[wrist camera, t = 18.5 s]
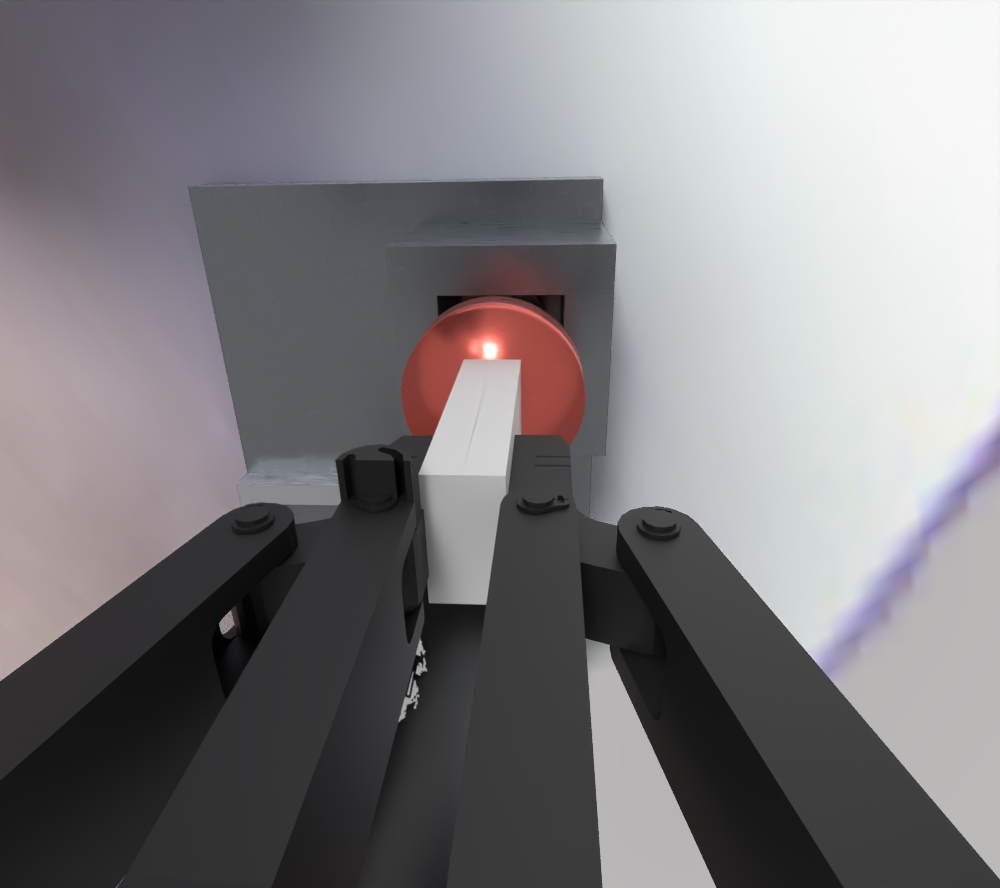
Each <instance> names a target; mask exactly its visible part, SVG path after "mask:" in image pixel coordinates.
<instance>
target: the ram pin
mask: <svg viewBox="0 0 1000 888" xmlns="http://www.w3.org/2000/svg"><path fill="white" fill-rule="evenodd" d="M464 359H506V360H521V435H560V436H561V437H562V438H563V439H564V440H565V441H566V442H567V443H568V444H569V445H571V444H572V442H573V440H574V438H575V437H576V435H577V433H578V431H579V428H580V426H581V423H582V419H583V415H584V410H585V386H584V379H583V372H582V366H581V361H580V358H579V354H578V351H577V349H576V347H575V345H574V343H573V341H572V339H571V337H570V336H569V334H568V333H567V331H566V330H565V329H564V328H563V327H562V326H561V324H560V323H559V322H558V321H557V320H556V319H554V318H553V317H552V316H551V315H550V314H548V313H547V312H546V311H545V308H544V306H543V304H542V303H541V301H540V300H539V299H538V298H537V297H536V296H535V295H482V296H481V297H479V298H474V299H470V300H467V301H464V302H462V303H459V304H457V305H455V306H453V307H451V308H450V309H448V310H447V311H445V312H444V313H442V314H441V315H440V316H439V317H438V318H437V319H435V320H434V321H433V322H432V323H431V325H430V326H429V327H428V328H427V330H426V331H425V332H424V334H423V335H422V337H421V339H420V340H419V342H418V343H417V345H416V346H415V348H414V350H413V351H412V353H411V355H410V356H409V359H408V361H407V364H406V366H405V369H404V373H403V377H402V384H401V402H402V409H403V413H404V417H405V420H406V423H407V425H408V427H409V429H410V432H411V433H412V435H413V436H434V434H435V431H436V429H437V426H438V424H439V421H440V419H441V416H442V414H443V411H444V408H445V406H446V403H447V401H448V398H449V396H450V393H451V391H452V388H453V386H454V383H455V381H456V378H457V376H458V373H459V370H460V368H461V365H462V363H463V360H464Z"/></svg>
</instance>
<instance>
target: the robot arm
mask: <svg viewBox="0 0 1000 888" xmlns="http://www.w3.org/2000/svg"><path fill="white" fill-rule="evenodd" d="M335 462H336V469H337V476H338V483H339V490H340V498H341V502H340V504H339V506H338V508H337V509H336V511H335V513H334V514H333V516H332V518H328V519H323V520H319V521H313V522H306V523H300V524H295V520H294V514H293V512H292V511H291V510H290V509H289V508H288V507H287V506H284V505H281V504H278V503H265V502H259V503H256V504H255V503H252V504H247V505H245V506H243V507H240V508H237V509H234V510H232V511H230V512H228V513H227V514H225V515H223V516H221V517H220V518H219V519H217V520H216V521H215V522H213V523H212V524H211V525H209V526H208V527H207V528H205V529H204V530H203V531H201V532H200V533H199V534H197V535H196V536H195V537H193V538H192V539H191V540H189V541H188V542H187V543H185V544H184V545H183V546H181V547H180V548H179V549H177V550H176V551H174V552H173V553H172V554H170V555H169V556H168V557H166V558H165V559H164V560H162V561H161V562H160V563H158V564H157V565H156V566H154V567H153V568H152V569H150V570H149V571H148V572H146V573H145V574H144V575H142V576H141V577H140V578H138V579H137V580H136V581H134V582H133V583H132V584H130V585H129V586H128V587H126V588H125V589H124V590H122V591H121V592H120V593H118V594H117V595H116V596H114V597H113V598H112V599H110V600H109V601H107V602H106V603H105V604H103V605H102V606H101V607H99V608H98V609H97V610H95V611H94V612H93V613H91V614H90V615H89V616H87V617H86V618H85V619H83V620H82V621H81V622H79V623H78V624H77V625H75V626H74V627H73V628H71V629H70V630H69V631H67V632H66V633H65V634H63V635H62V636H61V637H59V638H58V639H57V640H55V641H54V642H53V643H51V644H50V645H49V646H47V647H46V648H45V649H43V650H42V651H40V652H39V653H38V654H36V655H35V656H34V657H32V658H31V659H30V660H28V661H27V662H26V663H24V664H23V665H22V666H20V667H19V668H18V669H16V670H15V671H14V672H12V673H11V674H10V675H8V676H7V677H6V678H4V679H3V680H2V681H0V888H115V887H116V886H117V885H118V884H119V882H120V881H121V880H122V879H123V878H124V879H123V880H122V881H121V883H120V884H119V886H118V887H117V888H356V885H357V881H358V877H359V873H360V869H361V865H362V862H363V858H364V854H365V850H366V846H367V842H368V838H369V834H370V830H371V827H372V823H373V819H374V815H375V811H376V807H377V803H378V799H379V795H380V792H381V788H382V784H383V780H384V776H385V772H386V768H387V764H388V760H389V757H390V753H391V749H392V745H393V741H394V737H395V733H396V729H397V725H398V722H399V718H400V714H401V710H402V706H403V702H404V698H405V694H406V690H407V687H408V683H409V679H410V675H411V671H412V667H413V663H414V659H415V656H416V652H417V648H418V644H419V640H420V636H421V632H422V628H423V624H424V606H423V595H424V591H425V588H426V584H427V586H428V598H429V603H443V604H480V605H486V610H485V617H484V624H483V631H482V638H481V645H480V652H479V659H478V666H477V673H476V680H475V687H474V694H473V702H472V709H471V716H470V723H469V730H468V737H467V744H466V751H465V758H464V765H463V772H462V779H461V787H460V794H459V801H458V808H457V815H456V822H455V829H454V836H453V843H452V850H451V857H450V864H449V872H448V879H447V886H446V888H602V875H601V860H600V846H599V831H598V817H597V802H596V789H595V773H594V759H593V744H592V729H591V716H590V701H589V685H588V671H587V656H586V641H585V638H587V639H590V640H594V641H598V642H601V643H605V644H609V645H610V652H611V658H612V660H613V662H614V664H615V666H616V669H617V671H618V673H619V675H620V677H621V680H622V682H623V684H624V686H625V688H626V690H627V693H628V695H629V697H630V699H631V701H632V704H633V706H634V708H635V710H636V712H637V715H638V717H639V719H640V721H641V723H642V726H643V728H644V730H645V732H646V734H647V737H648V739H649V741H650V743H651V745H652V747H653V750H654V752H655V754H656V756H657V758H658V761H659V763H660V765H661V767H662V769H663V772H664V774H665V776H666V778H667V780H668V782H669V785H670V787H671V789H672V791H673V793H674V795H675V798H676V800H677V802H678V804H679V807H680V809H681V811H682V813H683V815H684V818H685V820H686V822H687V824H688V826H689V828H690V830H691V833H692V835H693V837H694V839H695V841H696V844H697V846H698V848H699V850H700V853H701V855H702V857H703V859H704V861H705V863H706V866H707V868H708V870H709V872H710V874H711V877H712V879H713V881H714V883H715V885H716V888H1000V879H999V878H998V877H997V876H996V875H995V873H994V872H993V871H992V870H991V869H990V867H989V866H988V865H987V864H986V863H985V862H984V860H983V859H982V858H981V857H980V856H979V855H978V853H977V852H976V851H975V850H974V849H973V847H972V846H971V845H970V844H969V843H968V842H967V840H966V839H965V838H964V837H963V836H962V834H961V833H960V832H959V831H958V830H957V829H956V828H955V826H954V825H953V824H952V823H951V822H950V820H949V819H948V818H947V817H946V816H945V814H944V813H943V812H942V811H941V810H940V809H939V808H938V806H937V805H936V804H935V803H934V801H933V800H932V799H931V798H930V797H929V796H928V794H927V793H926V792H925V791H924V790H923V789H922V787H921V786H920V785H919V784H918V783H917V781H916V780H915V779H914V778H913V777H912V776H911V774H910V773H909V772H908V771H907V770H906V768H905V767H904V766H903V765H902V764H901V763H900V761H899V760H898V759H897V758H896V757H895V755H894V754H893V753H892V752H891V751H890V750H889V748H888V747H887V746H886V745H885V744H884V743H883V741H882V740H881V739H880V738H879V737H878V735H877V734H876V733H875V732H874V731H873V730H872V728H871V727H870V726H869V725H868V724H867V723H866V721H865V720H864V719H863V718H862V717H861V715H860V714H859V713H858V712H857V711H856V710H855V708H854V707H853V706H852V705H851V704H850V703H849V701H848V700H847V699H846V698H845V697H844V695H843V694H842V693H841V692H840V691H839V690H838V688H837V687H836V686H835V685H834V684H833V682H832V681H831V680H830V679H829V678H828V677H827V675H826V674H825V673H824V672H823V671H822V669H821V668H820V667H819V666H818V665H817V664H816V662H815V661H814V660H813V659H812V658H811V657H810V655H809V654H808V653H807V652H806V651H805V649H804V648H803V647H802V646H801V645H800V644H799V642H798V641H797V640H796V639H795V638H794V636H793V635H792V634H791V633H790V632H789V631H788V629H787V628H786V627H785V626H784V625H783V624H782V622H781V621H780V620H779V619H778V618H777V616H776V615H775V614H774V613H773V612H772V611H771V609H770V608H769V607H768V606H767V605H766V604H765V602H764V601H763V600H762V599H761V598H760V596H759V595H758V594H757V593H756V592H755V591H754V589H753V588H752V587H751V586H750V585H749V583H748V582H747V581H746V580H745V579H744V578H743V576H742V575H741V574H740V573H739V572H738V571H737V569H736V568H735V567H734V566H733V565H732V563H731V562H730V561H729V560H728V559H727V558H726V556H725V555H724V554H723V553H722V552H721V550H720V549H719V548H718V547H717V546H716V545H715V543H714V542H713V541H712V540H711V539H710V538H709V536H708V535H707V534H706V533H705V532H704V530H703V529H702V528H701V527H700V526H699V525H698V523H697V522H695V521H694V520H693V519H692V518H690V517H689V516H688V515H686V514H683V513H681V512H678V511H676V510H673V509H670V508H664V507H658V506H655V507H642V508H638V509H633V510H630V511H628V512H627V513H625V514H623V515H622V516H621V518H620V520H619V522H618V526H615V525H610V524H606V523H602V522H599V521H595V520H593V519H591V518H589V517H586V516H585V515H584V514H582V513H581V512H579V510H578V509H577V508H576V503H575V501H574V499H573V489H572V474H571V459H570V445H569V444H568V443H567V442H566V441H565V440H564V439H563V438H562V437H561V436H560V435H521V360H506V359H464V360H463V363H462V365H461V368H460V370H459V373H458V376H457V378H456V381H455V383H454V386H453V388H452V391H451V393H450V396H449V398H448V401H447V403H446V406H445V408H444V411H443V414H442V416H441V419H440V421H439V424H438V426H437V429H436V431H435V434H434V436H410V435H403V436H402V437H400V438H399V439H397V440H396V441H394V442H393V443H391V444H390V445H383V444H379V445H366V446H362V447H358V448H354V449H351V450H349V451H347V452H345V453H343V454H341V455H340V456H339V457H338V458H337V459H336V460H335ZM230 610H231V612H232V616H233V620H234V624H235V625H234V626H233V627H232V628H231V629H230V630H229V631H228V632H227V633H225V634H223V635H222V633H221V631H220V627H219V622H220V621H221V620H222V618H223V617H224V616H225V615H226V614H227V613H228V612H229V611H230ZM125 875H126V876H125ZM124 876H125V877H124Z"/></svg>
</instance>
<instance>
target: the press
mask: <svg viewBox="0 0 1000 888" xmlns="http://www.w3.org/2000/svg"><path fill="white" fill-rule="evenodd" d="M188 188H189V193H190V198H191V202H192V207H193V212H194V217H195V222H196V227H197V231H198V236H199V241H200V246H201V251H202V255H203V260H204V265H205V270H206V275H207V280H208V284H209V289H210V294H211V299H212V304H213V308H214V313H215V318H216V323H217V328H218V333H219V337H220V342H221V347H222V352H223V357H224V361H225V366H226V371H227V376H228V381H229V386H230V390H231V395H232V400H233V405H234V410H235V414H236V419H237V424H238V429H239V434H240V439H241V443H242V448H243V453H244V458H245V463H246V467H247V474H246V475H245V476H244V477H243V478H242V479H241V480H240V481H239V482H238V484H237V489H238V494H239V498H240V503H241V507H243V506H245V505H247V504H252V503H255V504H256V503H259V502H265V503H278V504H281V505H284V506H287V507H288V508H289V509H290V510H291V511H292V512H293V514H294V520H295V524H300V523H306V522H313V521H319V520H323V519H328V518H332V516H333V514H334V513H335V511H336V509H337V508H338V506H339V504H340V502H341V498H340V490H339V483H338V476H337V469H336V462H335V460H336V459H337V458H338V457H339V456H340V455H341V454H343V453H345V452H347V451H349V450H351V449H354V448H358V447H362V446H366V445H379V444H383V445H390V444H391V443H393V442H394V441H396V440H397V439H399V438H400V437H402V436H403V435H410V436H413V435H412V433H411V432H410V429H409V427H408V425H407V423H406V420H405V417H404V413H403V409H402V402H401V384H402V377H403V373H404V369H405V366H406V364H407V361H408V359H409V356H410V355H411V353H412V351H413V350H414V348H415V346H416V345H417V343H418V342H419V340H420V339H421V337H422V335H423V334H424V332H425V331H426V330H427V328H428V327H429V326H430V325H431V323H432V322H433V321H434V320H435V319H437V318H438V317H439V316H440V315H441V314H442V313H444V312H445V311H447V310H448V309H450V308H451V307H453V306H455V305H457V304H459V303H462V302H464V301H467V300H470V299H474V298H479V297H481V296H482V295H535V296H536V297H537V298H538V299H539V300H540V301H541V303H542V304H543V306H544V308H545V311H546V312H547V313H548V314H550V315H551V316H552V317H553V318H554V319H556V320H557V321H558V322H559V323H560V324H561V326H562V327H563V328H564V329H565V330H566V331H567V333H568V334H569V336H570V337H571V339H572V341H573V343H574V345H575V347H576V349H577V351H578V354H579V358H580V361H581V366H582V372H583V379H584V386H585V410H584V415H583V419H582V423H581V426H580V428H579V431H578V433H577V435H576V437H575V438H574V440H573V442H572V444H571V445H570V459H571V474H572V489H573V499H574V501H575V503H576V508H577V509H578V510H579V512H581V513H582V514H584V515H585V516H586V517H589V505H590V482H591V458H592V455H605V453H606V434H607V415H608V396H609V376H610V357H611V338H612V319H613V300H614V281H615V261H616V243H615V241H614V240H613V238H612V237H611V235H610V233H609V232H608V230H607V229H606V227H605V226H604V224H603V223H602V198H603V178H601V177H565V178H513V179H461V180H410V181H358V182H306V183H255V184H206V185H198V186H191V187H188Z"/></svg>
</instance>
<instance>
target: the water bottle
mask: <svg viewBox="0 0 1000 888" xmlns="http://www.w3.org/2000/svg"><path fill="white" fill-rule="evenodd" d="M423 606H424V624H423V628H422V632H421V636H420V640H419V644H418V648H417V652H416V656H415V659H414V663H413V667H412V671H411V675H410V679H409V683H408V687H407V690H406V694H405V698H404V702H403V706H402V710H401V714H400V718H399V722H398V725H397V729H396V733H395V737H394V741H393V745H392V749H391V753H390V757H389V760H388V764H387V768H386V772H385V776H384V780H383V784H382V788H381V792H380V795H379V799H378V803H377V807H376V811H375V815H374V819H373V823H372V827H371V830H370V834H369V838H368V842H367V846H366V850H365V854H364V858H363V862H362V865H361V869H360V873H359V877H358V881H357V885H356V888H446V886H447V879H448V872H449V864H450V857H451V850H452V843H453V836H454V829H455V822H456V815H457V808H458V801H459V794H460V787H461V779H462V772H463V765H464V758H465V751H466V744H467V737H468V730H469V723H470V716H471V709H472V702H473V694H474V687H475V680H476V673H477V666H478V659H479V652H480V645H481V638H482V631H483V624H484V617H485V610H486V605H480V604H443V603H429V598H428V586H427V584H426V588H425V591H424V595H423Z"/></svg>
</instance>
